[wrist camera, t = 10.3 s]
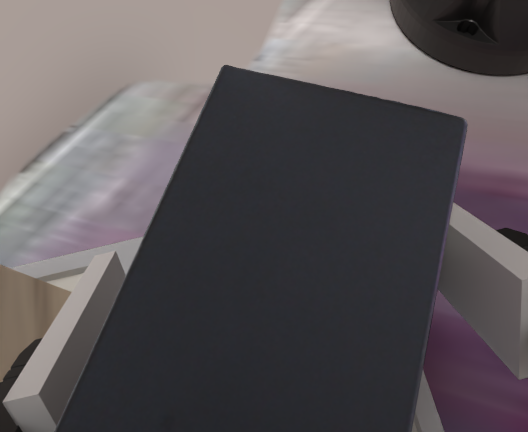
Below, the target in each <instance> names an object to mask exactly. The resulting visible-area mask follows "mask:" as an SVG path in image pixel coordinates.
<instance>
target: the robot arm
mask: <svg viewBox="0 0 528 432" xmlns="http://www.w3.org/2000/svg"><path fill="white" fill-rule="evenodd" d="M390 2H391V8H392V11H393V14H394V17H395V19H396V21H397V23H398V25H399V26H400V28H401V29H402V31H403V32H404V33H405V35H406V36H407V37H408V38H409V39H410V40H411V41H412V42H413V43H414V44H415V45H417V46H418V47H419V48H420V49H422V50H423V51H424V52H426V53H427V54H429V55H431V56H432V57H434V58H436V59H438V60H440V61H442V62H444V63H447V64H449V65H452V66H454V67H457V68H461V69H464V70H468V71H473V72H478V73H484V74H496V75H511V74H522V73H528V0H390ZM125 276H126V275H125V272H124V270H123V267H122V265H121V262H120V260H119V257H118V255H117V252H116V251H112V252H108V253H104V254H99V255H95V256H94V258H93V259H92V261H91V262H90V264H89V266H88V267H87V269H86V270H85V272H84V274H83V275H82V277H81V278H80V280H79V281H78V283H77V285H76V286H75V288H74V289H73V291H72V293H71V294H70V296H69V297H68V299H67V300H66V302H65V304H64V305H63V307H62V308H61V310H60V312H59V313H58V315H57V316H56V318H55V320H54V321H53V323H52V324H51V326H50V327H49V329H48V331H47V332H46V334H45V335H44V337H43V338H40V339H36V340H34V341H33V342H32V343H31V344H30V345H29V346H28V347H27V348H25V349H24V350H23V351H22V352H21V353H20V354H19V356H18V357H17V359H16V360H15V362H14V363H13V365H12V366H11V370H9V371H8V372H7V373H6V375H5V376H4V378H3V382H0V432H54V431H55V429H56V426H57V424H58V422H59V420H60V418H61V416H62V414H63V411H64V409H65V407H66V404H67V402H68V400H69V398H70V395H71V393H72V391H73V389H74V387H75V385H76V383H77V380H78V378H79V376H80V374H81V372H82V370H83V368H84V366H85V364H86V362H87V359H88V357H89V355H90V353H91V350H92V348H93V346H94V344H95V341H96V339H97V337H98V335H99V333H100V330H101V328H102V326H103V324H104V322H105V320H106V318H107V316H108V313H109V311H110V309H111V307H112V305H113V303H114V301H115V298H116V296H117V293H118V291H119V289H120V287H121V285H122V283H123V281H124V278H125ZM437 289H438V290H439V291H440V292H441V293H442V294H443V295H444V297H445V298H446V299H447V300H448V301H449V302H450V303H451V304H452V306H453V307H454V308H455V309H456V310H457V311H458V312H459V313H460V314H461V316H462V317H463V318H464V319H465V320H466V321H467V322H468V323H469V325H470V326H471V327H472V328H473V329H474V330H475V331H476V332H477V334H478V335H479V336H480V337H481V338H482V339H483V340H484V341H485V343H486V344H487V345H488V346H489V347H490V348H491V349H492V350H493V351H494V353H495V354H496V355H497V356H498V357H499V358H500V359H501V360H502V362H503V363H504V364H505V365H506V366H507V367H508V368H509V369H510V371H511V372H512V373H513V374H514V375H515V376H516V377H517V378H518V379H519V380H520V379H524V378H528V235H527V234H525V233H522V232H519V231H515V230H512V229H509V228H504V229H499V230H494V229H493V228H491V227H490V226H488V225H487V224H485V223H484V222H482V221H481V220H479V219H478V218H476V217H475V216H473V215H472V214H470V213H469V212H467V211H466V210H464V209H463V208H461V207H460V206H458V205H457V204H455V203H454V202H453V206H452V212H451V217H450V223H449V228H448V233H447V239H446V244H445V250H444V255H443V261H442V266H441V272H440V277H439V283H438V288H437Z"/></svg>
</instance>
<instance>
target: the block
mask: <svg viewBox="0 0 528 432" xmlns="http://www.w3.org/2000/svg"><path fill="white" fill-rule="evenodd" d="M71 293H72V292H70V291H68V290H65V289H62V288H60V287H57V286H55V285H52V284H49V283H47V282H44V281H42V280H39V279H36V278H34V277H31V276H28V275H26V274H23V273H21V272H18V271H15V270H13V269H10V268H8V267H5V266H2V265H0V382H3V378H4V376H5V375H6V373H7V372H8V371H9V370H11V366H12V365H13V363H14V362H15V360H16V359H17V357H18V356H19V354H20V353H21V352H22V351H23V350H24V349H25V348H27V347H28V346H29V345H30V344H31V343H32V342H33V341H34V340H36V339H40V338H43V337H44V335H45V334H46V332H47V331H48V329H49V327H50V326H51V324H52V323H53V321H54V320H55V318H56V316H57V315H58V313H59V312H60V310H61V308H62V307H63V305H64V304H65V302H66V300H67V299H68V297H69V296H70V294H71Z"/></svg>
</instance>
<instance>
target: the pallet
mask: <svg viewBox="0 0 528 432" xmlns="http://www.w3.org/2000/svg"><path fill="white" fill-rule="evenodd" d="M142 239H143V237H139V238H135V239H131V240H127V241H123V242H118V243H114V244H110V245H106V246H101V247H97V248H93V249H89V250H84V251H80V252H76V253H72V254H68V255H63V256H59V257H55V258H51V259H46V260H42V261H38V262H34V263H29V264H25V265H21V266H17V267H13V268H10V269H13V270H15V271H18V272H21V273H23V274H26V275H28V276H31V277H34V278H36V279H39V280H42V281H44V282H47V283H49V284H52V285H55V286H57V287H60V288H62V289H65V290H68V291H70V292H72V291H73V289H74V288H75V286H76V285H77V283H78V281H79V280H80V278H81V277H82V275H83V274H84V272H85V270H86V269H87V267H88V266H89V264H90V262H91V261H92V259H93V258H94V256H95V255H99V254H104V253H108V252H112V251H116V252H117V255H118V257H119V260H120V262H121V265H122V267H123V270H124V272H125V275H126V274H127V272H128V269H129V267H130V265H131V263H132V261H133V259H134V257H135V255H136V252H137V250H138V248H139V246H140V243H141V241H142ZM412 432H444V429H443V426H442V423H441V420H440V417H439V414H438V412H437V409H436V406H435V403H434V400H433V397H432V394H431V391H430V388H429V385H428V383H427V380H426V377H425V374H424V371H422V377H421V382H420V388H419V393H418V399H417V405H416V410H415V416H414V422H413V427H412Z"/></svg>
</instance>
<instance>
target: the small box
mask: <svg viewBox="0 0 528 432" xmlns="http://www.w3.org/2000/svg"><path fill="white" fill-rule="evenodd" d="M467 126H468V124H467V121H466V120H465V119H463V118H461V117H457V116H453V115H449V114H446V113H442V112H438V111H435V110H430V109H426V108H422V107H417V106H412V105H407V104H403V103H400V102H396V101H391V100H384V99H380V98H377V97H372V96H366V95H362V94H357V93H354V92H350V91H345V90H339V89H334V88H329V87H325V86H320V85H316V84H312V83H307V82H302V81H297V80H293V79H288V78H284V77H279V76H274V75H269V74H264V73H259V72H255V71H250V70H246V69H241V68H236V67H232V66H229V65H224V66H223V67H222V68H221V70H220V72H219V75H218V77H217V79H216V81H215V83H214V86H213V88H212V90H211V92H210V94H209V96H208V98H207V100H206V102H205V105H204V107H203V109H202V111H201V113H200V115H199V118H198V120H197V122H196V124H195V126H194V129H193V131H192V133H191V135H190V137H189V139H188V142H187V144H186V146H185V148H184V150H183V152H182V155H181V157H180V159H179V161H178V163H177V165H176V167H175V169H174V172H173V174H172V176H171V178H170V181H169V183H168V185H167V187H166V189H165V191H164V194H163V196H162V198H161V200H160V202H159V204H158V206H157V209H156V211H155V213H154V215H153V217H152V219H151V222H150V224H149V226H148V228H147V230H146V232H145V234H144V236H143V239H142V241H141V243H140V246H139V248H138V250H137V252H136V255H135V257H134V259H133V261H132V263H131V265H130V267H129V269H128V272H127V274H126V276H125V278H124V281H123V283H122V285H121V287H120V289H119V291H118V293H117V296H116V298H115V301H114V303H113V305H112V307H111V309H110V311H109V313H108V316H107V318H106V320H105V322H104V324H103V326H102V328H101V330H100V333H99V335H98V337H97V339H96V341H95V344H94V346H93V348H92V350H91V353H90V355H89V357H88V359H87V362H86V364H85V366H84V368H83V370H82V372H81V374H80V376H79V378H78V380H77V383H76V385H75V387H74V389H73V391H72V393H71V395H70V398H69V400H68V402H67V404H66V407H65V409H64V411H63V414H62V416H61V418H60V420H59V422H58V424H57V426H56V429H55V431H54V432H412V427H413V422H414V416H415V410H416V405H417V399H418V393H419V388H420V382H421V377H422V371H423V365H424V360H425V354H426V349H427V343H428V338H429V332H430V327H431V321H432V316H433V310H434V305H435V299H436V294H437V288H438V283H439V277H440V272H441V266H442V261H443V255H444V250H445V244H446V239H447V233H448V228H449V223H450V217H451V212H452V206H453V201H454V196H455V190H456V185H457V180H458V175H459V170H460V165H461V160H462V154H463V148H464V143H465V138H466V132H467Z"/></svg>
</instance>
